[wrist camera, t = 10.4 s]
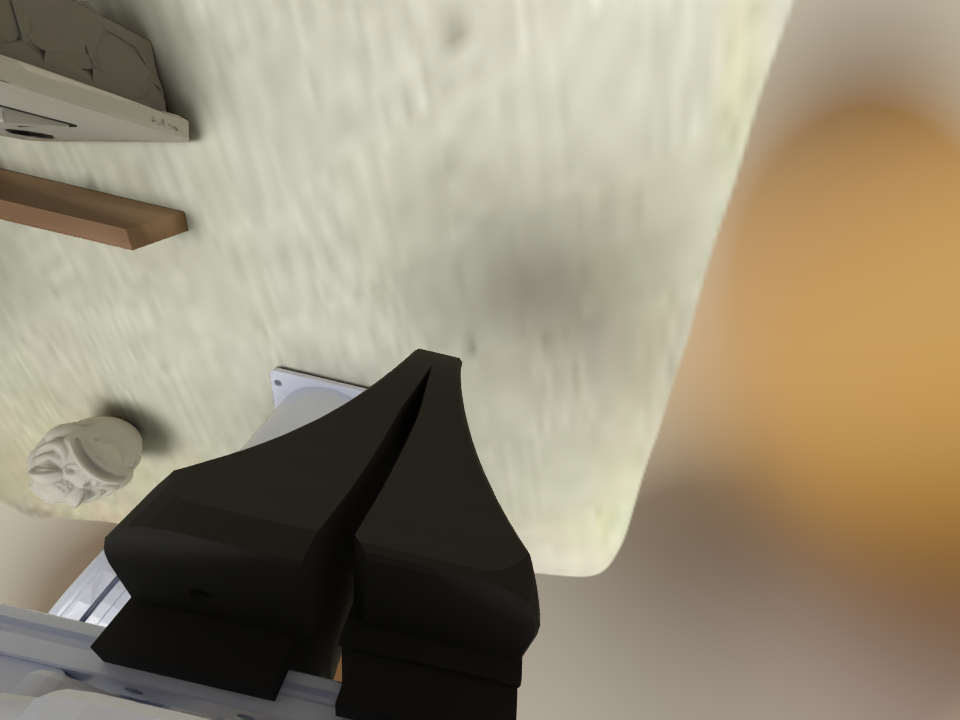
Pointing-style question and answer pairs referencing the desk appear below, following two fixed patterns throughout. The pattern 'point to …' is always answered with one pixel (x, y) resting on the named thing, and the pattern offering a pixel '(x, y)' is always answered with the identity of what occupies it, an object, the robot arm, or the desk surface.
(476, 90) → the desk surface
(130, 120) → the electrical switch
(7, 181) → the socket dock
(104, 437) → the grey rounded carved piece
